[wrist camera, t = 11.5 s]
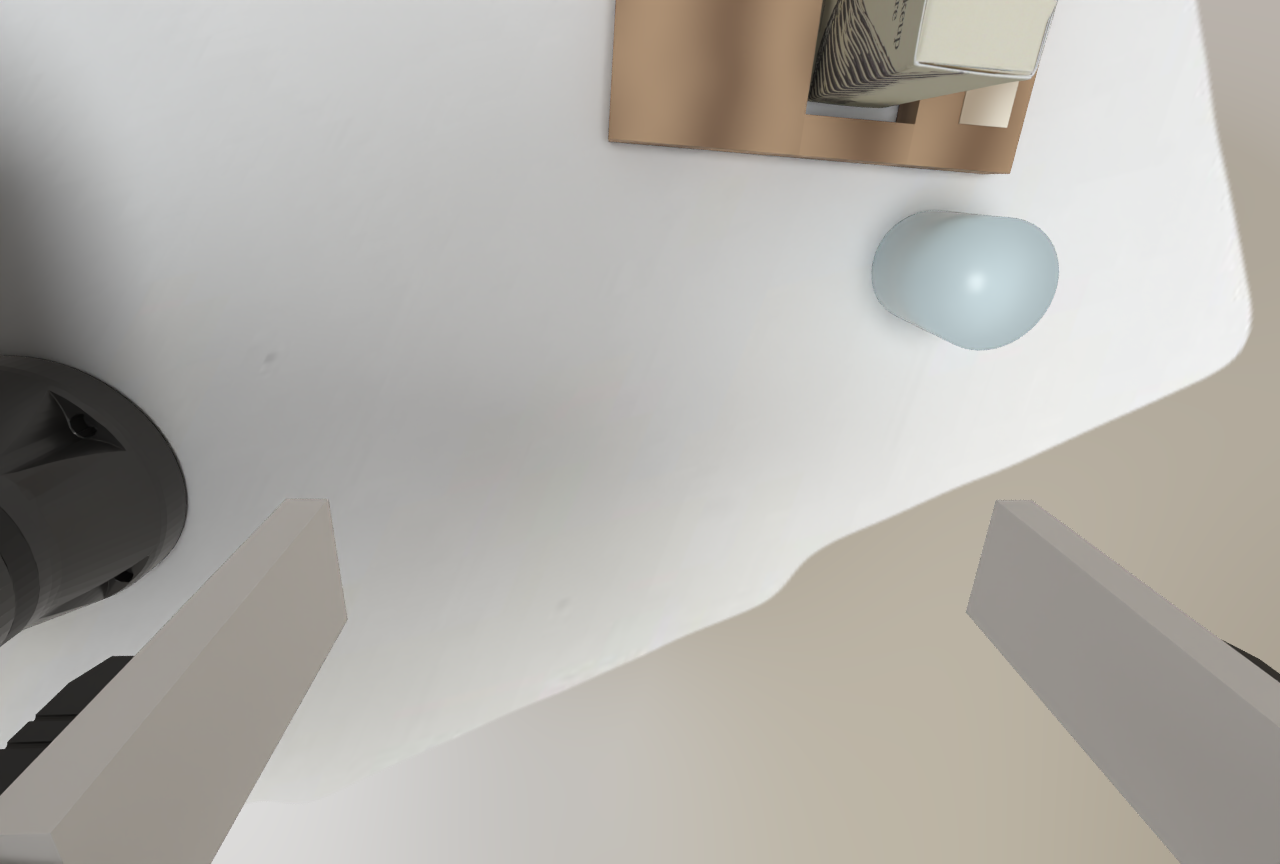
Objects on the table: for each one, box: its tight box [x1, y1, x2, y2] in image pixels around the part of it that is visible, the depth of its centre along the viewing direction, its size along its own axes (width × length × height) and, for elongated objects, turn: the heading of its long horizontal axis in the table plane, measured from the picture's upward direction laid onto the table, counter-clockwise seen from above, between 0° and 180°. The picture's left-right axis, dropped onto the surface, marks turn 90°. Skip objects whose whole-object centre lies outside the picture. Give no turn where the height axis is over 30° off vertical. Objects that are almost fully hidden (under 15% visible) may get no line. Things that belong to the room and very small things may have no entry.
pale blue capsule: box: [872, 210, 1059, 350], centre depth 33 cm, size 6×6×7 cm
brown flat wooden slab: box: [608, 0, 1039, 174], centre depth 31 cm, size 20×10×2 cm, turn 86°
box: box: [808, 0, 1058, 108], centre depth 26 cm, size 5×4×13 cm
